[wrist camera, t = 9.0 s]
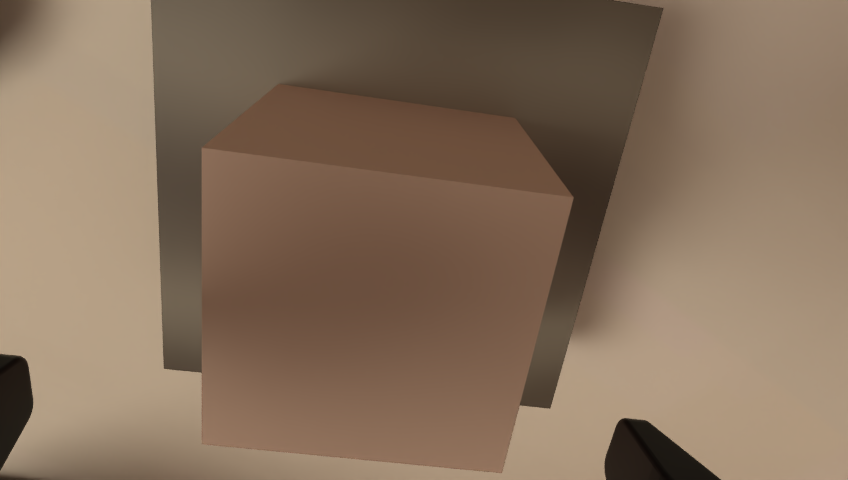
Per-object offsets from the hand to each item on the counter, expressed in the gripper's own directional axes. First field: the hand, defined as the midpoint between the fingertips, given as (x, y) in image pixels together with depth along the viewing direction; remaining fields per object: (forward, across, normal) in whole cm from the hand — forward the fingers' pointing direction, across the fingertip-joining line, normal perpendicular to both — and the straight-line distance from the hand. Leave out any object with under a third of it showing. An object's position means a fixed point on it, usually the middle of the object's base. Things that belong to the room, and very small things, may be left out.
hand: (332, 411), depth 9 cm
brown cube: (+8, 0, 0) cm, 8 cm away
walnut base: (+12, 0, 0) cm, 12 cm away
